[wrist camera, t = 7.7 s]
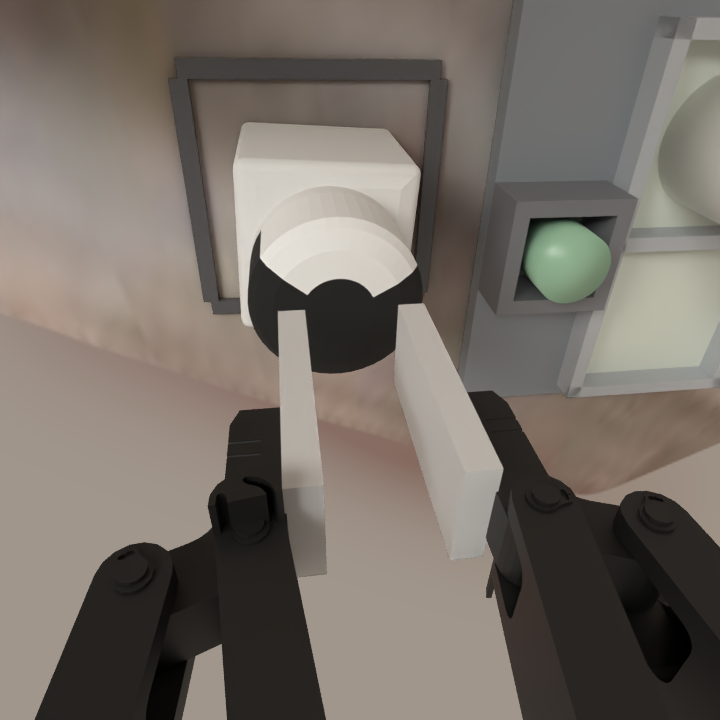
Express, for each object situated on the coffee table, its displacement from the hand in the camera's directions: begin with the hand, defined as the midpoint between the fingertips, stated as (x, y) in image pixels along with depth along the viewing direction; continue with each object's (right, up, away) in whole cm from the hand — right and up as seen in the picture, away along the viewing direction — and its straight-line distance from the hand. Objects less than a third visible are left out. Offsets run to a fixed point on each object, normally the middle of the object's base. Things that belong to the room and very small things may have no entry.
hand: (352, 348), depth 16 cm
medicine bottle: (-2, +8, +12) cm, 15 cm away
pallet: (+16, +7, +15) cm, 23 cm away
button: (+10, +6, +12) cm, 17 cm away
